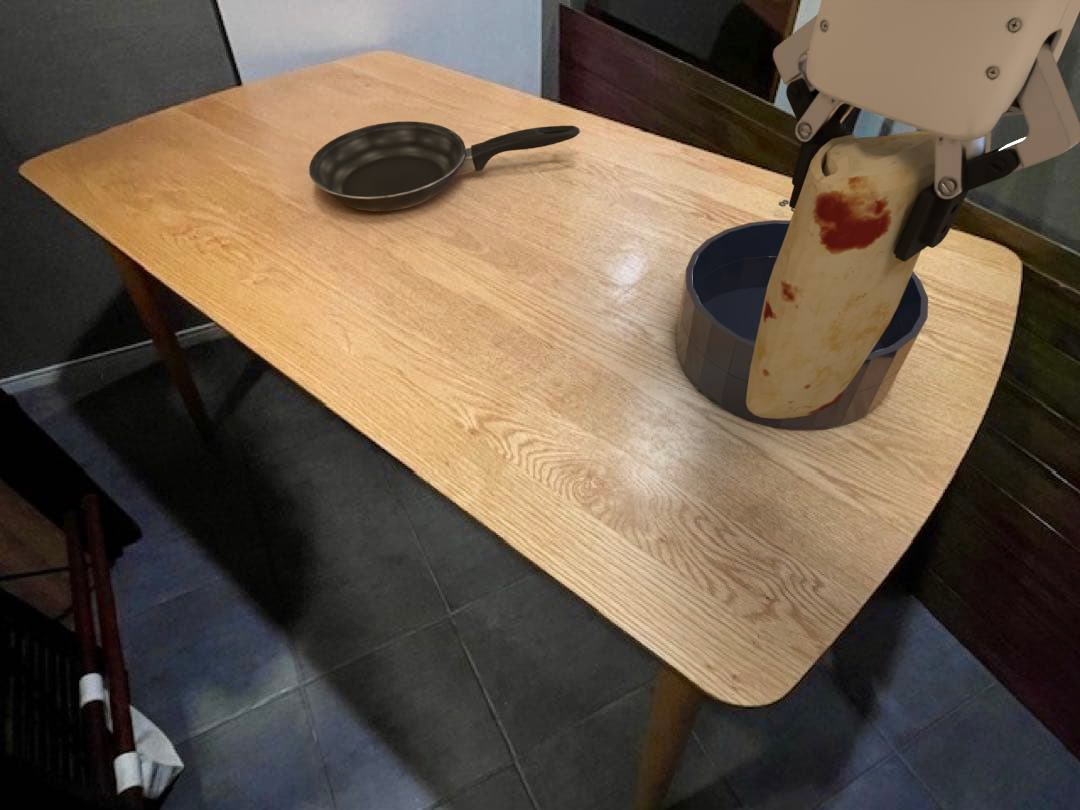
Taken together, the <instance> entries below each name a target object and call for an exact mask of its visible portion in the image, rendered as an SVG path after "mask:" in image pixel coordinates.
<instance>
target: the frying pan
mask: <svg viewBox="0 0 1080 810" xmlns="http://www.w3.org/2000/svg"><path fill="white" fill-rule="evenodd" d="M580 133H581V129H580V128H579V127H577V126H575V125H549V126H538V127H532V128H525V129H521V130H516V131H512V132H508V133H505V134H501V135H498V136H495V137H492V138H490V139H487V140H485V141H482V142H479V143H475V144H472V145H470V147H468V148H466V144H465V141H464V140H463V138H462V137H461V136H460V135H459V134H458V133H457V132H455V131H454V130H452V129H451V128H448V127H445V126H443V125H439V124H435V123H431V122H425V121H424V122H423V121H411V120H410V121H408V120H406V121H392V122H382V123H376V124H372V125H371V124H370V125H367V126H363V127H360V128H358V129H354V130H351V131H349V132H347V133H344V134H341V135H340V136H337V137H336V138H334V139H332V140H330V141H329V142H327V143H326V144H324V145H323V146H322V147H321V148H319V150H317V152H316V153H315V154H314V155H313V156H312V159H311V161H310V162H309V168H308V173H309V176H310V179H311V180H312V182H313V183H314V185H315V186H316V187H318V188H319V189H321V190H322V191H324V192H325V193H326V194H327V195H328V196H329V197H331V198H332V199H333V200H335V201H337V202H338V203H341V204H343V205H345V206H347V207H350V208H353V209H357V210H362V211H369V212H390V211H397V210H404V209H406V208H410V207H414V206H417V205H420V204H422V203H424V202H427V201H429V200H431V199H433V198H434V197H436V196H437V195H438V194H440V193H442V192H443V190H445V189H446V188H447V187H448V186H449V185H450V184H451V183H452V181H453V180H454V179H455V177H456V176H460V175H464V174H468V173H471V172H481V171H483V170H484V169H485V167H486V165H487V164H488V162H489V161H490V160H491V159H492V158H494V157H495V156H497V155H498V154H501V153H504V152H512V151H523V150H531V149H533V150H534V149H537V148H543V147H548V146H552V145H556V144H559V143H562V142H565V141H569V140H571V139H574V138H576V137H577V136H578V135H580Z"/></svg>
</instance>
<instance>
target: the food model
mask: <svg viewBox="0 0 1080 810" xmlns="http://www.w3.org/2000/svg"><path fill="white" fill-rule="evenodd" d="M934 180H935V134H932V133H929V132H926V131H923V130H914V131H905V132H900V133H896V134H891V135H890V134H889V135H879V136H877V135H876V136H863V137H856V136H855V135H854V134H848V135H846V136H843V137H838V138H834V139H831V140H830V141H829V142H828V143H826V144H825V145H824V146H823V147H821V148H820V150H819V151H818V152H817V153H816V155H815V156H814V158H813V159H812V161H811V163H810V166H809V169H808V172H807V175H806V178H805V181H804V184H803V187H802V190H801V192H800V195H799V198H798V201H797V204H796V206H795V209H793V210H794V212H793V213H792V215H791V218H790V220H789V221H790V224H789V227H788V230H787V233H786V236H785V239H784V241H783V244H782V247H781V250H780V252H779V255H778V257H777V260H776V263H775V265H774V268H773V271H772V274H771V277H770V280H769V283H768V286H767V291H766V296H765V301H764V305H763V310H762V315H761V320H760V325H759V329H758V334H757V338H756V343H755V348H754V353H753V357H752V362H751V367H750V374H749V381H748V388H747V398H746V405H747V408H748V409H749V411H750V412H752V413H753V414H754V415H756V416H759V417H762V418H776V419H782V418H794V417H801V416H807V415H810V414H813V413H815V412H817V411H820V410H823V409H825V408H827V407H829V406H831V405H833V404H835V403H836V402H838V401H839V399H840V397H841V396H842V394H843V392H844V391H845V389H846V387H847V386H848V385H849V383H850V382H851V380H852V379H853V378H854V376H855V375H856V373H857V372H858V370H859V369H860V367H861V366H862V364H863V363H864V361H865V360H866V358H867V357H868V355H869V354H870V352H871V351H872V349H873V348H874V346H875V345H876V343H877V342H878V340H879V339H880V337H881V336H882V334H883V332H884V331H885V329H886V328H887V326H888V325H889V323H890V321H891V319H892V317H893V315H894V313H895V311H896V309H897V307H898V305H899V302H900V300H901V298H902V295H903V293H904V291H905V288H906V286H907V284H908V281H909V279H910V277H911V274H912V272H913V271H914V269H915V267H916V264H917V263H918V259H919V258H920V255H921V252H922V251H920V252H919V253H917V254H916V255H914V256H913V257H911V258H910V259H908V260H907V261H905V262H903V261H901V260H899V259H897V258H895V254H894V250H895V248H896V245H897V243H898V241H899V238H900V236H901V234H902V231H903V229H904V227H905V224H906V222H907V220H908V217H909V215H910V213H911V210H912V208H913V206H914V203H915V201H916V199H917V197H918V195H919V194H920V193H921V192H922V191H923V190H925V189H926V188H928V187H930V186H931V185H932V184H933V182H934Z"/></svg>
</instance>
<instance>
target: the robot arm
mask: <svg viewBox="0 0 1080 810" xmlns="http://www.w3.org/2000/svg"><path fill="white" fill-rule="evenodd" d="M1079 14H1080V0H821V1H820V4H819V8H818V12H817V14H816V15H815V16H814V17H812V18H811V19H810V20H808V21H807V22H806V23H805V24H803V25H801V27H800V28H798V29H797V30H795V32H793V33H792V34H790V35H789V36H788V37H786V39H784V40H782V41H781V43H779V44H777V45H776V47H775V48H774V49H773V52H772V59H773V61H774V64H775V66H776V69H777V70H778V73H779V76H780V78H781V80H782V84H783V85H786V90H785V94H786V98H787V101H788V104H789V105H790V108H791V110H792V112H793V114H794V117H795V119H796V121H797V123H796V125H795V136H796V138H797V140H799V141H801V144H800V148H799V152H798V154H797V155H798V156H797V159H796V163H795V167H794V171H793V175H792V178H791V184H792V185H793V188H792V191H791V194H790V198H789V204H788V207H789V208H790V209H791V208H793V210H794V209H795V206H796V204H797V201H798V198H799V195H800V192H801V190H802V187H803V184H804V181H805V178H806V175H807V172H808V169H809V166H810V163H811V161H812V159H813V158H814V156H815V155H816V153H817V152H818V151H819V150H820V148H821V147H823V146H824V145H825V144H826V143H828V142H829V141H830V140H831V139H834V138H838V137H843V136H847V132H848V130H847V129H845V128H842V123H843V122H844V121H845V120H846V119H847V117H848V115H850V113H851V112H852V110H854V108H857V109H860V110H863V111H866V112H868V113H872V114H874V115H877V116H880V117H883V118H886V119H888V120H892V121H895V122H896V123H900V124H903V125H906V126H909V127H912V128H914V129H916V130H917V129H918V130H919V131H926V132H929V133H932V134H935V180H934V182H933V184H932V185H931V186H930V187H928V188H926V189H925V190H923V191H922V192H921V193H920V194H919V195H918V197H917V199H916V201H915V203H914V206H913V208H912V210H911V213H910V215H909V217H908V220H907V222H906V224H905V227H904V229H903V231H902V234H901V236H900V238H899V241H898V243H897V245H896V248H895V250H894V254H895V258H897V259H899V260H901V261H903V262H905V261H907V260H908V259H910V258H911V257H913V256H914V255H916V254H917V253H919V252H920V251H921V252H922V251H923V250H925V249H926V248H927V247H928V248H931V249H933V248H936V247H937V246H938V245H940V244H941V243H942V242H943V241H944V239H945V238H946V237H947V235H948V234H949V232H950V230H951V228H952V226H953V224H954V222H955V220H956V218H957V216H958V213H959V211H960V209H961V207H962V205H963V203H964V201H965V199H966V197H967V195H968V193H969V191H971V190H974V189H977V188H980V187H982V186H985V185H987V184H990V183H993V182H995V181H998V180H1001V179H1003V178H1005V177H1007V176H1010V175H1011V174H1014V173H1016V172H1018V171H1021V170H1025V169H1029V168H1030V167H1033V166H1035V165H1038V164H1040V163H1043V162H1045V161H1048V160H1051V159H1053V158H1056V157H1059V156H1061V155H1063V154H1064V153H1066V152H1068V151H1069V150H1071V149H1072V148H1073V147H1075V146H1077V145H1078V144H1079V143H1080V120H1079V118H1078V115H1077V113H1076V110H1075V108H1074V105H1073V103H1072V100H1071V97H1070V94H1069V92H1068V90H1067V87H1066V84H1065V82H1064V80H1063V77H1062V74H1061V72H1060V69H1059V67H1058V64H1057V63H1058V62H1059V60H1060V58H1061V55H1062V53H1063V51H1064V48H1065V46H1066V43H1067V42H1068V39H1069V37H1070V34H1071V32H1072V30H1073V28H1074V26H1075V24H1076V21H1077V19H1078V16H1079ZM1020 115H1023V117H1024V120H1025V123H1026V125H1027V128H1028V131H1027V135H1026V136H1025V137H1022V138H1019V139H1018V140H1014V141H1011V142H1008V143H1007V144H1004V145H1002V146H999V147H997V148H994V149H991V146H992V145H991V143H992V131H993V129H994V128H995V127H996V125H997V124H998V122H999V120H1000V119H1001V118H1002V117H1003V118H1009V117H1016V116H1020ZM921 252H920V253H921Z"/></svg>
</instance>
